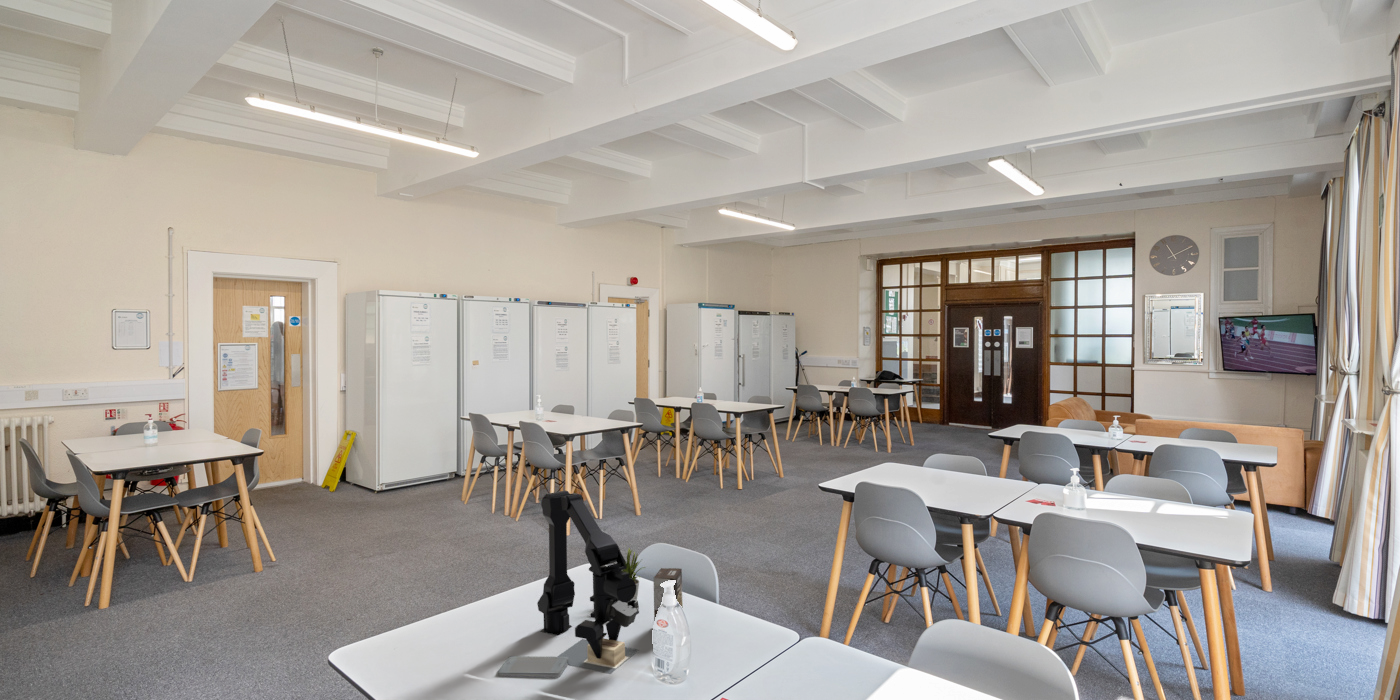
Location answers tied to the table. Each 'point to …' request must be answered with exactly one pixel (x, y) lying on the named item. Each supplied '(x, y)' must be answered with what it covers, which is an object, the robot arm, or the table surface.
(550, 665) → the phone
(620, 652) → the cream block with stripe
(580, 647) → the mat
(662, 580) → the coffee box
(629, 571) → the house plant
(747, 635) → the table surface
